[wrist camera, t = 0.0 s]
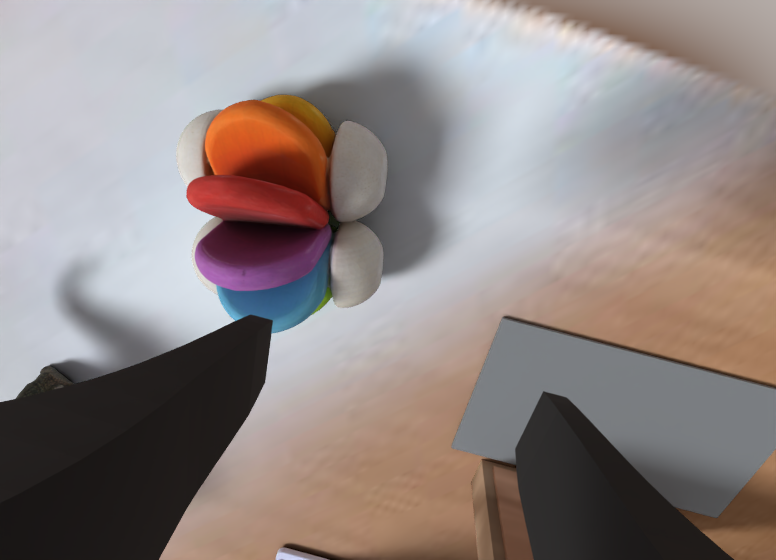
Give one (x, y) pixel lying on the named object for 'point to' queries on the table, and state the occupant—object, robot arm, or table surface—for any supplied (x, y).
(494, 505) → the wooden block
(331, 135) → the rainbow petal rattle
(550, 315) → the table surface
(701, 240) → the table surface
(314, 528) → the table surface
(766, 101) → the table surface
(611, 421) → the felt mat
